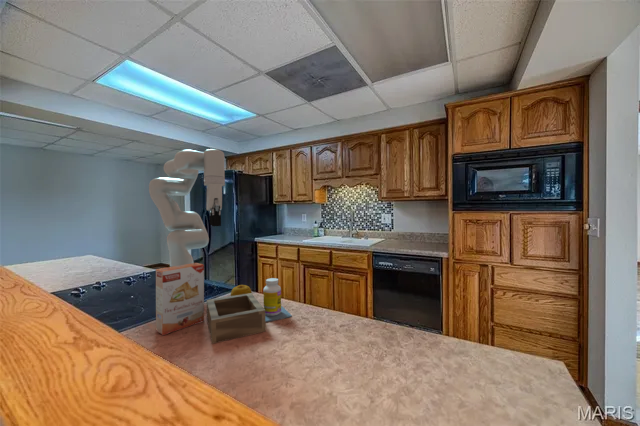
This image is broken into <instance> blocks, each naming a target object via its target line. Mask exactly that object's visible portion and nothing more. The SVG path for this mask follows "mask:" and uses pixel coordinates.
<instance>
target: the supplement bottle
mask: <svg viewBox="0 0 640 426" xmlns="http://www.w3.org/2000/svg"><path fill="white" fill-rule="evenodd" d="M265 284H266V285H265V286H264V287H263V289H262V290H263V291H262V292H263V308H264V309H265V315H267V316H275V315H278V314H280V313H281V306H282V288H281V286H280V285H279V278H274V277H271V278H267V279H265Z"/></svg>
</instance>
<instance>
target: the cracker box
mask: <svg viewBox="0 0 640 426" xmlns="http://www.w3.org/2000/svg"><path fill="white" fill-rule="evenodd" d="M204 321H205V265H204V264H203V263H198V262H193V263H192V264H186V265H180V266H173V267H170V266H169V267H161V268H156V269H155V329H156V332H157V333H159V334H160V335H161V336H165V335H168V334H170V333H171V334H172V333H173V332H176V331H179V330H182V329H185V328H188V327H191V326H194V325H197V324H199V323H202V322H204Z"/></svg>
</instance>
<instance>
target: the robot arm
mask: <svg viewBox="0 0 640 426" xmlns="http://www.w3.org/2000/svg"><path fill="white" fill-rule="evenodd" d="M173 157H174V158H173V159H169V160H167V161H166V162H165V163H164V164H163V172H164V173H165V174H166V175H167V176H168V177H155V178H152V180H150V181H149V183H148V192H149V196H150V199H151V200H152V202H153V203H154V205H155V206H156V208H157V209H158V212H159V214H160V217H161V219H162V222H163V225H164V228H165V229H166V230H167V231H169V233H168V235H167V237H166V242H167V243H166V244H167V249H168V254H169V267H173V266H180V265H186V264H192V263H194V258H193V256H192V254H191V253H190V252H189V251H191V250H195V249H202V248H206V247H207V246H208V245H209V242H210V238H209V233H208V230H207V228H206V226H205V224H204V222H203V220H202V217H201V216H200V214H199V213H197V212H196V211H192V210H191V211H190V210H189V211H184V210H181V208H180V205H179V204H178V202H177V201H176V200H174V199H173V198H172V197H170V196H174V197H175V196H177V197H178V196H179V197H180V196H181V197H183V196H184V197H185V196H187V195H189V194H190V192H191V191H192V188H193V186H194V185H195V183H196V180H197V178H198V176H199V171H201V172H203V185H204V187H205V186H206V211H209V217H208V218H209V226H212V227H221V226H222V214H221V211H222V209H223V192H222V191H223V187H225V186H226V182H225V181H226V180H225V178H226V177H225V153H224V151H222V150H220V149H217V148H216V149H215V148H210V149H209V148H208V149H206V150H204V151H200V150H199V151H198V150H193V149H183V150H180V151H177V152H176V153H175V155H174V156H173Z"/></svg>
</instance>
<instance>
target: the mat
mask: <svg viewBox="0 0 640 426" xmlns="http://www.w3.org/2000/svg"><path fill="white" fill-rule="evenodd" d="M292 317H293V315H292V314H291V313H290V312H289V311H288V310H287V309H286V308H285V307H284V306H283V305H281V313H280V314H278V315H275V316H267V315H265V320H266V323H270V322H274V321H280V320H283V319H288V318H292Z"/></svg>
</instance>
